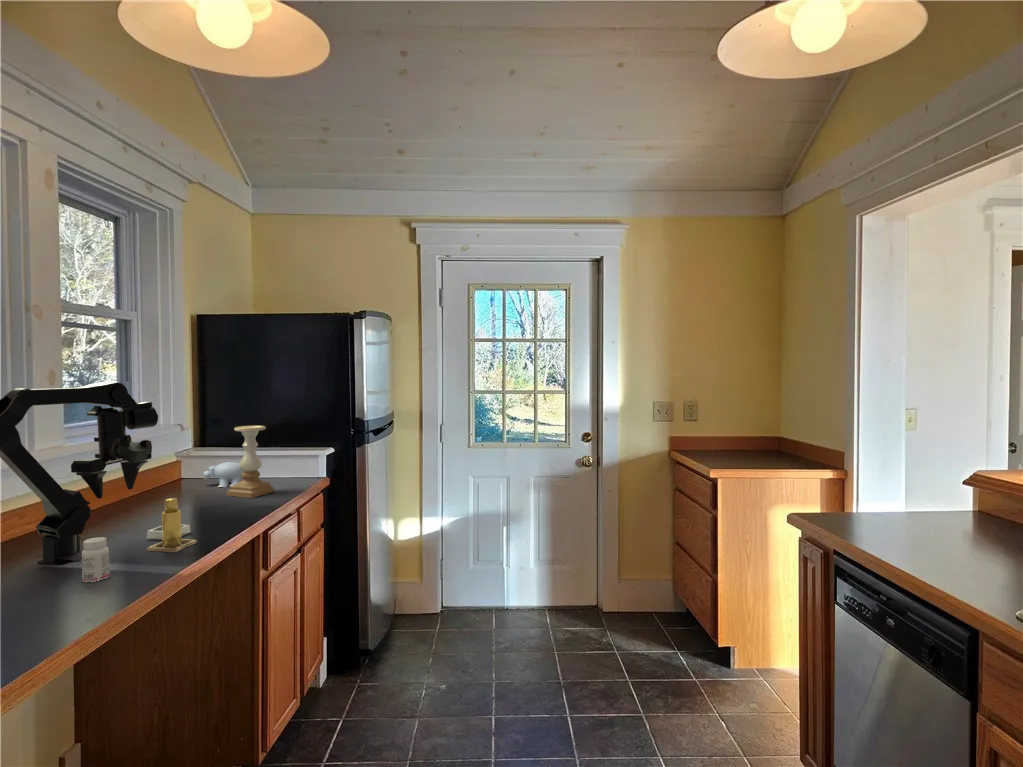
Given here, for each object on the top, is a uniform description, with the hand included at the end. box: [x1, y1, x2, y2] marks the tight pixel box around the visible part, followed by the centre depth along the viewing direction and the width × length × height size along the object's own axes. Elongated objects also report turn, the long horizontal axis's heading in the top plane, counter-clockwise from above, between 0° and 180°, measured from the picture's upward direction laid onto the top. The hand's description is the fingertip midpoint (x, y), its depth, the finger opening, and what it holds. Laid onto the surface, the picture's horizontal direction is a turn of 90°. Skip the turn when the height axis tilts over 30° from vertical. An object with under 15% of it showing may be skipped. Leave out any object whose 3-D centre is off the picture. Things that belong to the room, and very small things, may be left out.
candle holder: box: [226, 425, 275, 499], centre depth 204 cm, size 11×11×24 cm
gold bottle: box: [161, 497, 182, 548], centre depth 140 cm, size 4×4×12 cm
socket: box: [146, 523, 192, 541], centre depth 149 cm, size 7×7×4 cm
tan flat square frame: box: [146, 538, 198, 553], centre depth 140 cm, size 8×8×2 cm
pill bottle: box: [81, 536, 111, 583], centre depth 123 cm, size 5×5×8 cm
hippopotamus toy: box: [202, 461, 244, 488], centre depth 220 cm, size 11×15×10 cm
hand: (115, 493), depth 145 cm, fingers open, 9 cm apart
